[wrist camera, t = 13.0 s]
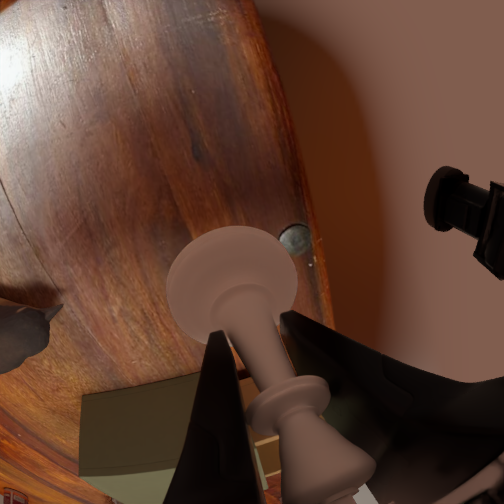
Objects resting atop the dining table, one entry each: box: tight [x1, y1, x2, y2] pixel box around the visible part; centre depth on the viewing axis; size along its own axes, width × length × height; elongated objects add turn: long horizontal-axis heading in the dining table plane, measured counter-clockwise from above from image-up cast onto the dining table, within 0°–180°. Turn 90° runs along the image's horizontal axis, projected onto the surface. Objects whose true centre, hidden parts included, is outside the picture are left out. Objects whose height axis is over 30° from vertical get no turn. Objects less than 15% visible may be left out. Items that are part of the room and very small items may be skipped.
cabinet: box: [79, 372, 268, 504], centre depth 23 cm, size 15×13×9 cm
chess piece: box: [166, 226, 395, 504], centre depth 7 cm, size 5×5×10 cm
